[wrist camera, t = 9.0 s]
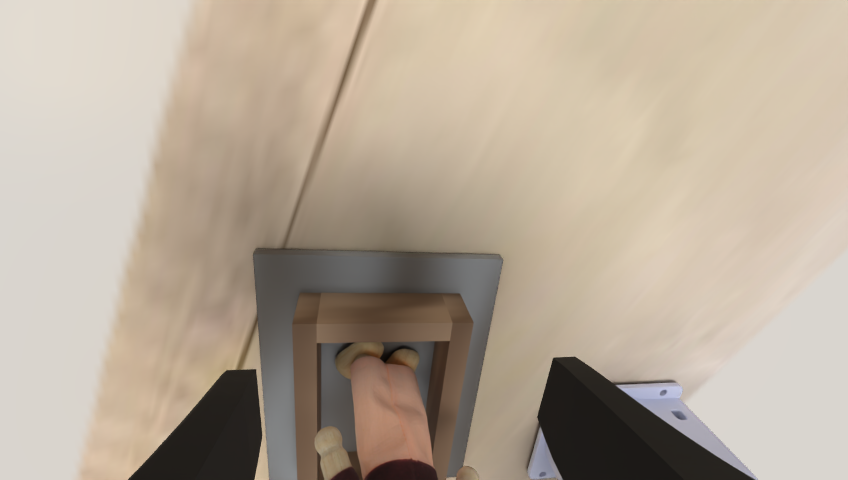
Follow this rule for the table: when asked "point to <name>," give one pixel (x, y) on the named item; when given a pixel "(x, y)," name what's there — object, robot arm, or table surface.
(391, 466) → the grandmother figurine
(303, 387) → the wooden tray
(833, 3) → the table surface
